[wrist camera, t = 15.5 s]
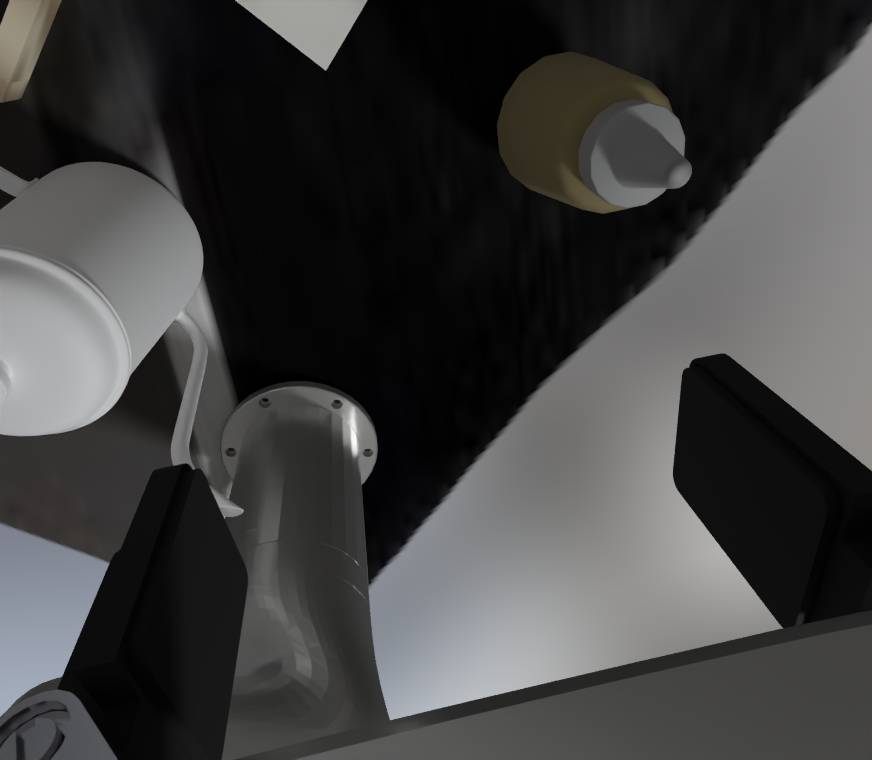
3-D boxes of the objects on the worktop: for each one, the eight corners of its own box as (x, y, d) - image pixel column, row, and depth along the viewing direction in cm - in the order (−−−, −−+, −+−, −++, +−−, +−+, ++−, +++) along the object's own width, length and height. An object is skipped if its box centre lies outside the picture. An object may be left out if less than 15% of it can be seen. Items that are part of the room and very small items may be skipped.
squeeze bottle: (610, 52, 38) (801, 64, 23) (589, 182, 42) (739, 267, 27) (488, 47, 37) (601, 57, 21) (479, 181, 41) (569, 270, 25)
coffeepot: (221, 408, 47) (164, 604, 31) (-120, 159, 35) (-506, 265, 19) (319, 321, 44) (313, 484, 28) (-12, 21, 32) (-349, 8, 16)
